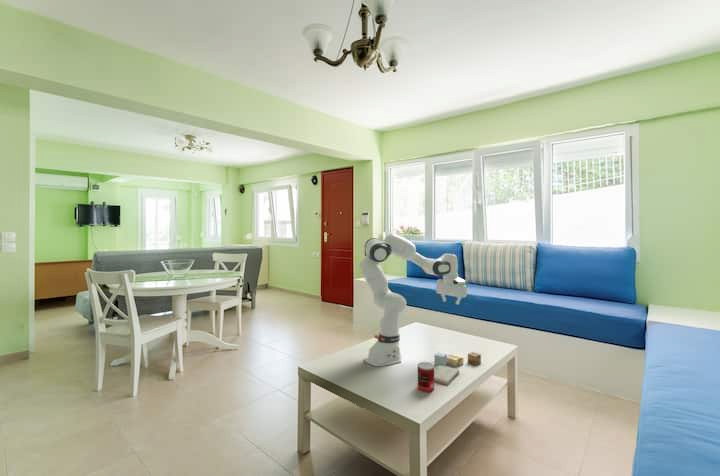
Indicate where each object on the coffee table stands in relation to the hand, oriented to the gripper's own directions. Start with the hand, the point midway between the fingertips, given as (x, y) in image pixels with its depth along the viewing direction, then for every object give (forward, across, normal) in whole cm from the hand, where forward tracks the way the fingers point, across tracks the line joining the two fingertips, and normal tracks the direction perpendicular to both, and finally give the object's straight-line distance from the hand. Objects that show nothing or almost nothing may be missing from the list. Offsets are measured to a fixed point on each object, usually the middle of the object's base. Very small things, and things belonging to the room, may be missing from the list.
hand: (451, 302), depth 192 cm
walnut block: (+32, +15, 0) cm, 35 cm away
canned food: (+31, +19, -45) cm, 58 cm away
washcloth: (+32, +16, -28) cm, 45 cm away
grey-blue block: (+31, +6, -18) cm, 36 cm away
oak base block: (+32, +9, -10) cm, 34 cm away
